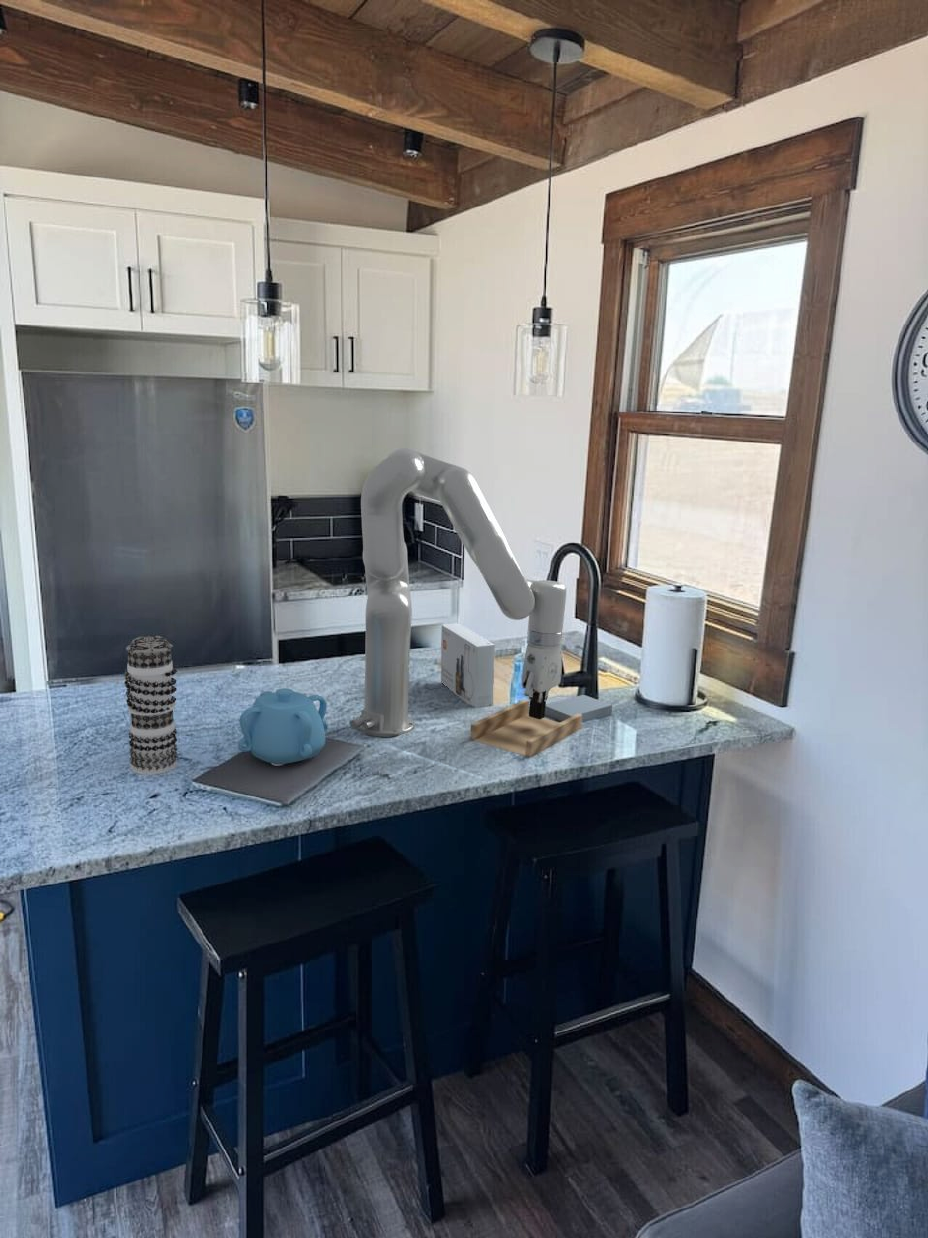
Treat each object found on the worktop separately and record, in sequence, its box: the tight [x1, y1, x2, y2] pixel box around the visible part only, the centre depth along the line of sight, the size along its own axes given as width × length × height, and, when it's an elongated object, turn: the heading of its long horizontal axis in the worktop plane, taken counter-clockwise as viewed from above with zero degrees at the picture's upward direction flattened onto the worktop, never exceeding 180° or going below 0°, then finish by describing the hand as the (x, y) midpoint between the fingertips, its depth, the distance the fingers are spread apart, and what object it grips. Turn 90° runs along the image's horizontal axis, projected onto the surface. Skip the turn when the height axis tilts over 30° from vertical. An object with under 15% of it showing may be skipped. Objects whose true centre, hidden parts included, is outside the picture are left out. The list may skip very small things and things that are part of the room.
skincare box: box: [440, 622, 496, 708], centre depth 208 cm, size 21×6×16 cm, turn 25°
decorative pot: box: [237, 687, 329, 765], centre depth 167 cm, size 16×16×14 cm
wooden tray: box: [469, 699, 583, 758], centre depth 184 cm, size 22×15×4 cm
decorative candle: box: [123, 635, 179, 776], centre depth 157 cm, size 9×9×25 cm
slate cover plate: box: [545, 694, 613, 723], centre depth 199 cm, size 14×9×3 cm, turn 130°
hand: (536, 717), depth 188 cm, fingers closed
